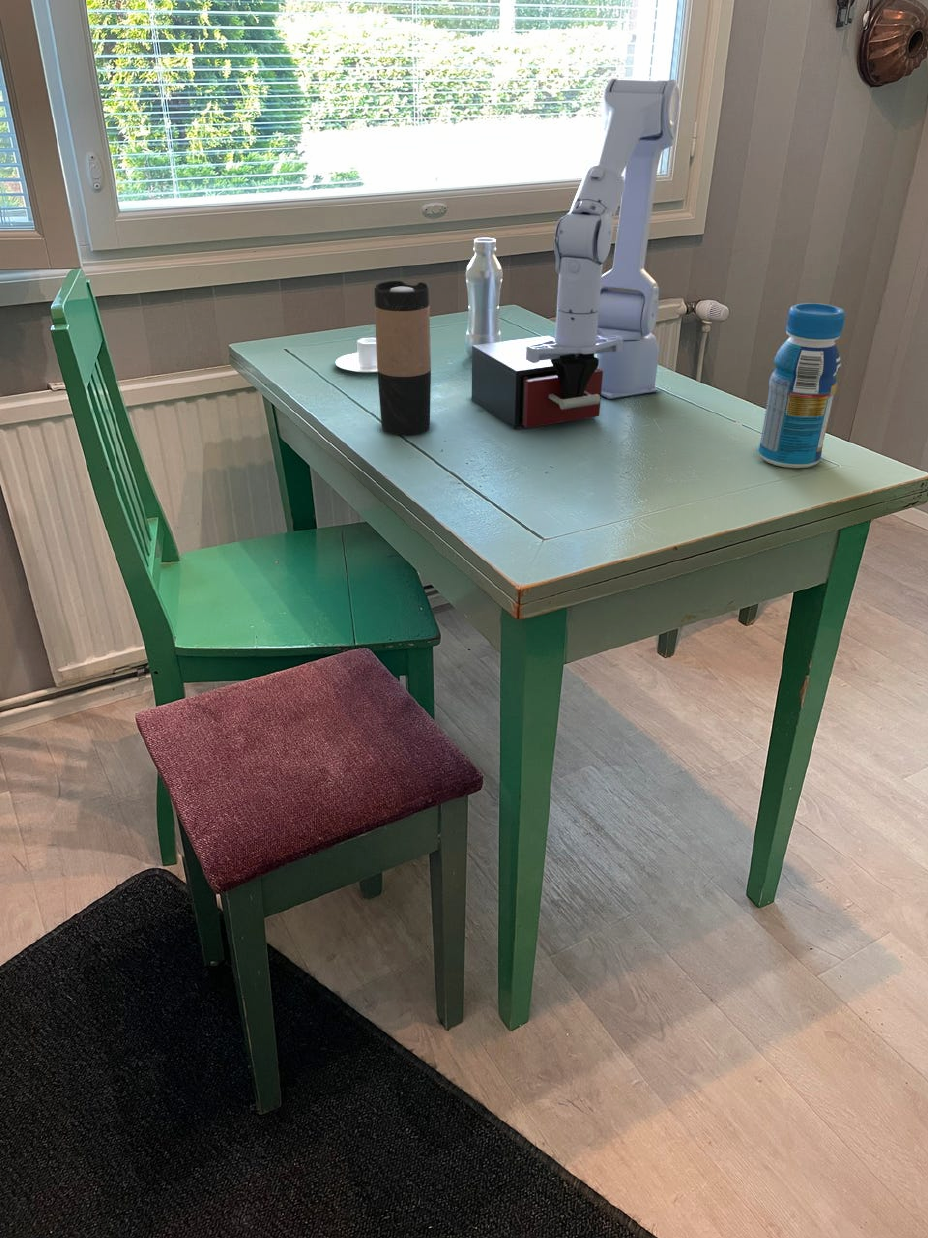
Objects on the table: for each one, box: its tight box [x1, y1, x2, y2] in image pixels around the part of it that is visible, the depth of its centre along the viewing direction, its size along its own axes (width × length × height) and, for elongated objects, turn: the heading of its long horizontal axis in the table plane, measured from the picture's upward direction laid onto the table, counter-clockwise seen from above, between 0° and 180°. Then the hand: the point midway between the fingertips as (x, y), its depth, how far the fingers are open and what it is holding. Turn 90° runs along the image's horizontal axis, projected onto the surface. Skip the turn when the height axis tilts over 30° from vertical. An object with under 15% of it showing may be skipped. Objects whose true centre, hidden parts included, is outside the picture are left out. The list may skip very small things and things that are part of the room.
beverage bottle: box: [758, 302, 846, 469], centre depth 123 cm, size 8×8×20 cm
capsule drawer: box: [519, 369, 603, 429], centre depth 139 cm, size 18×12×7 cm
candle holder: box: [335, 337, 378, 374], centre depth 163 cm, size 12×12×4 cm
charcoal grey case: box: [471, 335, 597, 430], centre depth 143 cm, size 15×14×9 cm
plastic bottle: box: [464, 237, 504, 359], centre depth 163 cm, size 6×7×20 cm
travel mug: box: [373, 280, 432, 437], centre depth 133 cm, size 8×8×20 cm
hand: (570, 406), depth 134 cm, fingers closed, pressing on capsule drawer
